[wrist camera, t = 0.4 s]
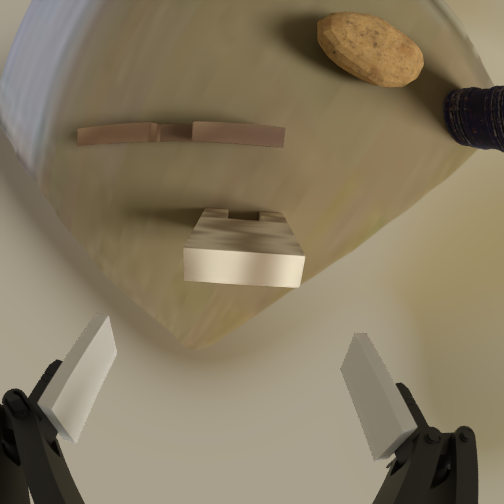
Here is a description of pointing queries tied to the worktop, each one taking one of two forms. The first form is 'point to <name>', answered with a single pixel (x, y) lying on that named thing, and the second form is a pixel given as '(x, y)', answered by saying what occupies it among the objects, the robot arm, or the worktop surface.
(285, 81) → the worktop surface
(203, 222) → the birch plate
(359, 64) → the potato
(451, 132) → the storage jar
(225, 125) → the walnut board
